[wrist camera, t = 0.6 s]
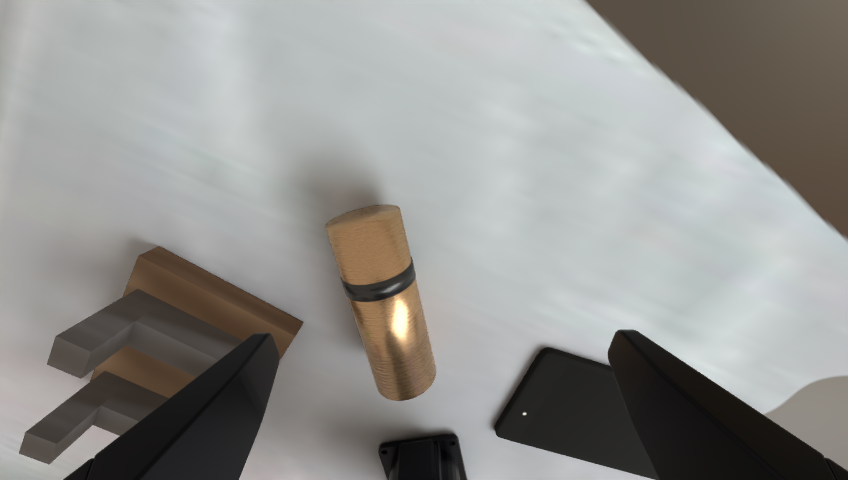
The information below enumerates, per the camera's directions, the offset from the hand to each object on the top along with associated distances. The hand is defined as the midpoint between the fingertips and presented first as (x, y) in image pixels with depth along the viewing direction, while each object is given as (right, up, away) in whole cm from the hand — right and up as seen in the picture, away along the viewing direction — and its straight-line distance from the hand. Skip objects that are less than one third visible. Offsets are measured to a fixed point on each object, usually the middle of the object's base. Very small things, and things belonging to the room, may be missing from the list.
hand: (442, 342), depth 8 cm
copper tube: (-3, 0, +12) cm, 13 cm away
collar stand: (-17, -6, +14) cm, 23 cm away
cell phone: (+15, -11, +17) cm, 25 cm away
